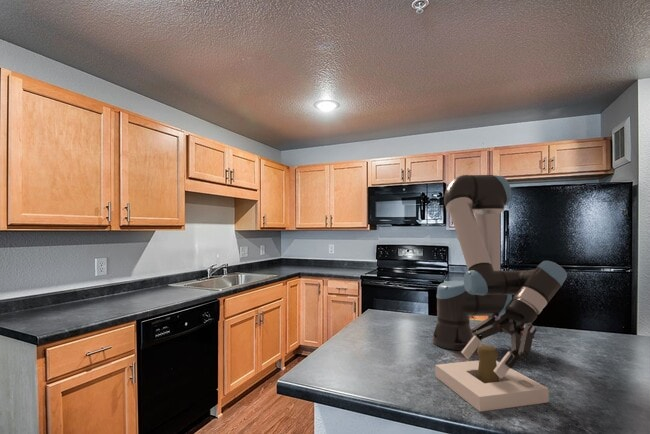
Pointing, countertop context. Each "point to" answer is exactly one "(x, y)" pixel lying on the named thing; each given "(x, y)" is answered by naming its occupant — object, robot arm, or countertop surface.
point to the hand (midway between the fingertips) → (479, 364)
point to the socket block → (491, 387)
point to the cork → (487, 364)
